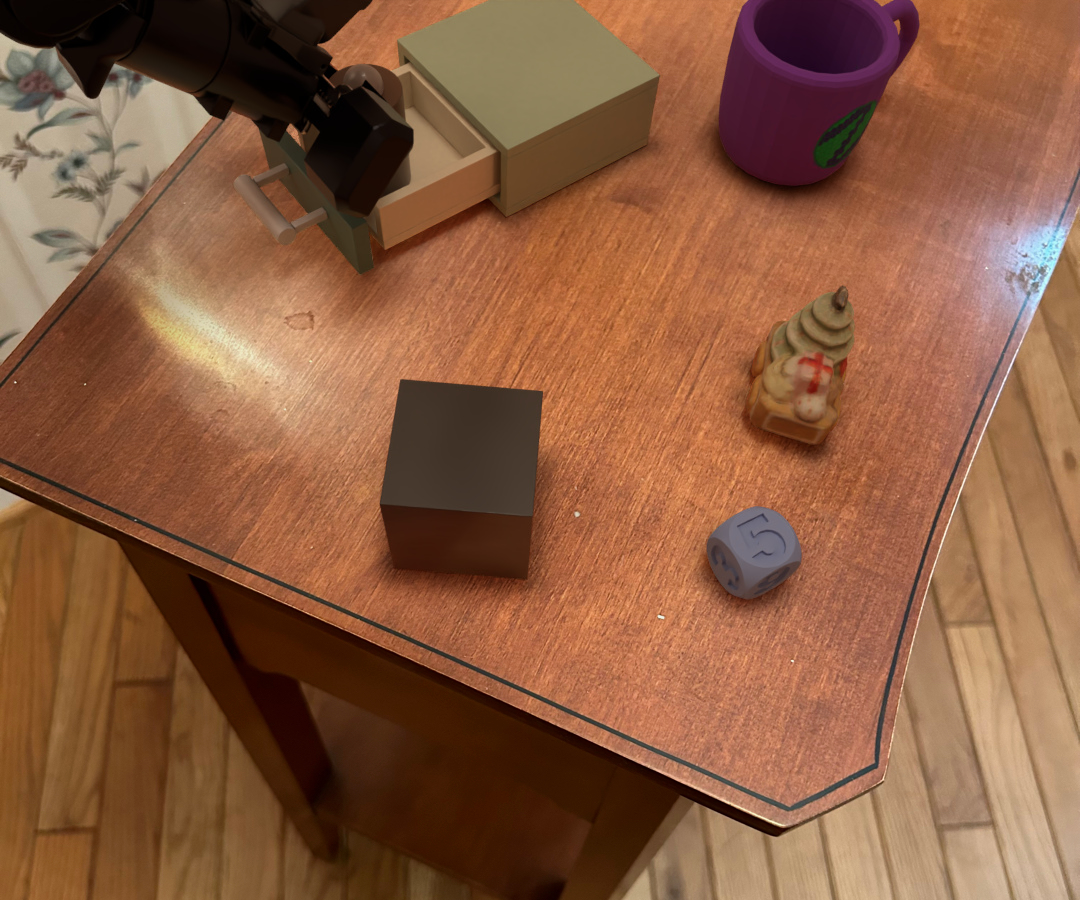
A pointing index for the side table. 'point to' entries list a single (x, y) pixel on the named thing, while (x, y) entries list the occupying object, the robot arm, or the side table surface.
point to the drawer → (432, 195)
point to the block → (462, 478)
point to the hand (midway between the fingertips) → (387, 127)
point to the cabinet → (539, 90)
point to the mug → (808, 82)
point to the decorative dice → (753, 552)
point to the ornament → (803, 370)
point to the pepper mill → (391, 92)
